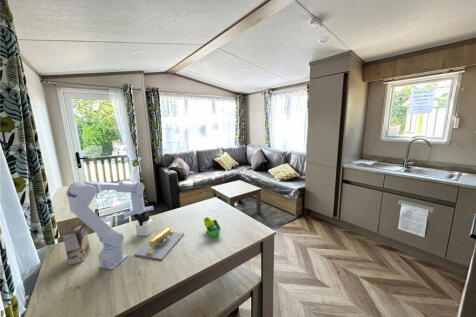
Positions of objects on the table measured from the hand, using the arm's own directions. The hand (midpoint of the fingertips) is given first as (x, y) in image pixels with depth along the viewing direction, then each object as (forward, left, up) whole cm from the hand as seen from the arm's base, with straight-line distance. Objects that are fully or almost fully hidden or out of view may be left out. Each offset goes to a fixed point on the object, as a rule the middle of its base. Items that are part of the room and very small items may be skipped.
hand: (141, 225), depth 107 cm
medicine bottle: (+8, +5, -11) cm, 14 cm away
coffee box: (-18, +23, -11) cm, 31 cm away
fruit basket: (+16, -36, -11) cm, 41 cm away
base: (0, -12, -10) cm, 16 cm away
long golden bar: (0, -12, -8) cm, 14 cm away
